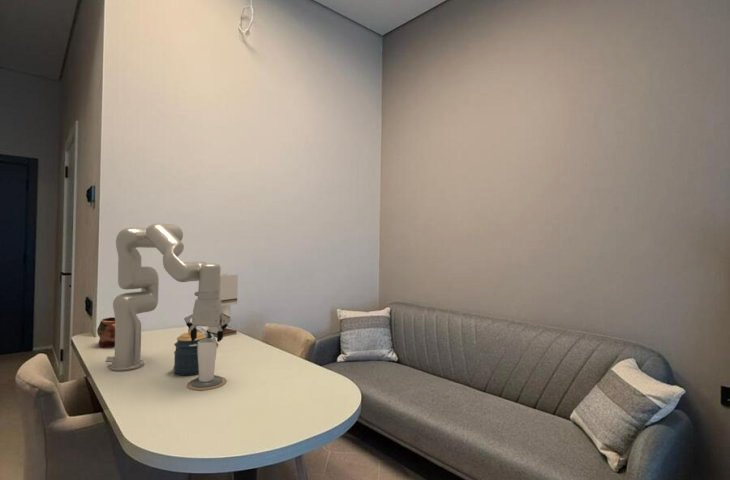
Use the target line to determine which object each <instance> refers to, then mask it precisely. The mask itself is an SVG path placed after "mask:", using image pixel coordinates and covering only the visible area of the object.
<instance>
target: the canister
mask: <svg viewBox="0 0 730 480" xmlns="http://www.w3.org/2000/svg"><path fill="white" fill-rule="evenodd" d="M188 330H189V329H188ZM205 338H206V335H204V334H203V333H201V332H197V338H196V339H195V340H194V341H191V330H189V332H188V331H187V332H184V333H182V334H180V335H179V336H177V338H176V340H177V341H176V342H175V343H174V347H175V351H174V352H173V355H174V361H173V373H174V374H175V375H177V376H183V377H185V376H187V377H188V376H196V375H199V369H198V355H197V346H198V341H199V340H203V339H205Z"/></svg>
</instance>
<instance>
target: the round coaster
mask: <svg viewBox="0 0 730 480" xmlns="http://www.w3.org/2000/svg"><path fill="white" fill-rule="evenodd" d="M227 382H228V381H227V378H226V377H223V376H220V375H215V374H214V379H213V380H212V381H209V382H200V381H199V376H198V377H196V378H194V379H191V380H190V381H188V382H187V384H186V387H187V388H188V389H189V390H192V391H209V390H215V389H217V388H220V387H223V386H224V385H226V384H227Z"/></svg>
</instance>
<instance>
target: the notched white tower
mask: <svg viewBox="0 0 730 480" xmlns="http://www.w3.org/2000/svg"><path fill="white" fill-rule="evenodd" d="M238 278H239V275H238V274H231V275H230V274H228V273H220V290H219V299H221V304H222V315H224V316H226V317H228V318H229V319H231V306H233V305H237V304H238V286H239V285H238V283H239V282H238ZM225 322H226V321H224V320H223V319H222V323H221V324H222V325H224V324H225ZM207 328H208V329H209V330H210V333H211V334H213V335H214V337H215V338H217V332H218V331H219V330H218V328H217V327H207ZM208 329H207V330H208ZM234 335H237V330H235V329H232V328H227V327H226V328H225V329H224V330H223V338H225V337H230V336H234Z"/></svg>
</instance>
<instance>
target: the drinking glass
mask: <svg viewBox="0 0 730 480" xmlns="http://www.w3.org/2000/svg"><path fill="white" fill-rule="evenodd" d="M216 341H217V339H216V338H215V339H203V340H199V341H198V346H197V355H198V369H199V374H198V377H199V381H200V382H209V381H212V380H213V379H214V375H215V368H216V366H215V365H216V359H217V358H216V357H217V343H218V342H217V343H216Z"/></svg>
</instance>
